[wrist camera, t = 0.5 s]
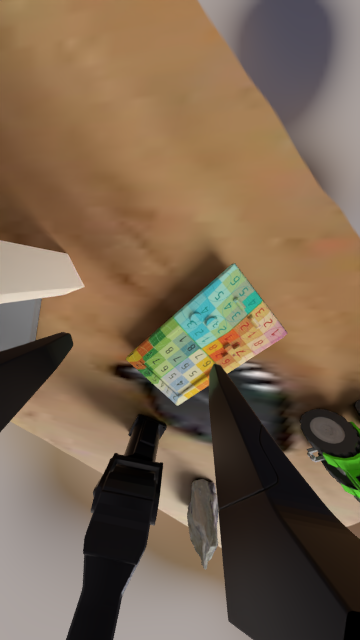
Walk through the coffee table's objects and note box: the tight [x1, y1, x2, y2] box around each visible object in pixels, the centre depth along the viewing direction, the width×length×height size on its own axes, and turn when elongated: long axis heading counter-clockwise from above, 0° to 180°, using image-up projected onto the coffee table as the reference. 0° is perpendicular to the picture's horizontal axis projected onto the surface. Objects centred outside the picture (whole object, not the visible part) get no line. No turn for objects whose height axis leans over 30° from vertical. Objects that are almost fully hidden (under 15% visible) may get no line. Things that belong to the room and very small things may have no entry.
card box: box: [0, 240, 85, 304], centre depth 16 cm, size 5×4×12 cm
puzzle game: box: [126, 263, 287, 406], centre depth 21 cm, size 12×5×20 cm
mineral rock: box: [187, 479, 219, 569], centre depth 31 cm, size 13×11×10 cm
